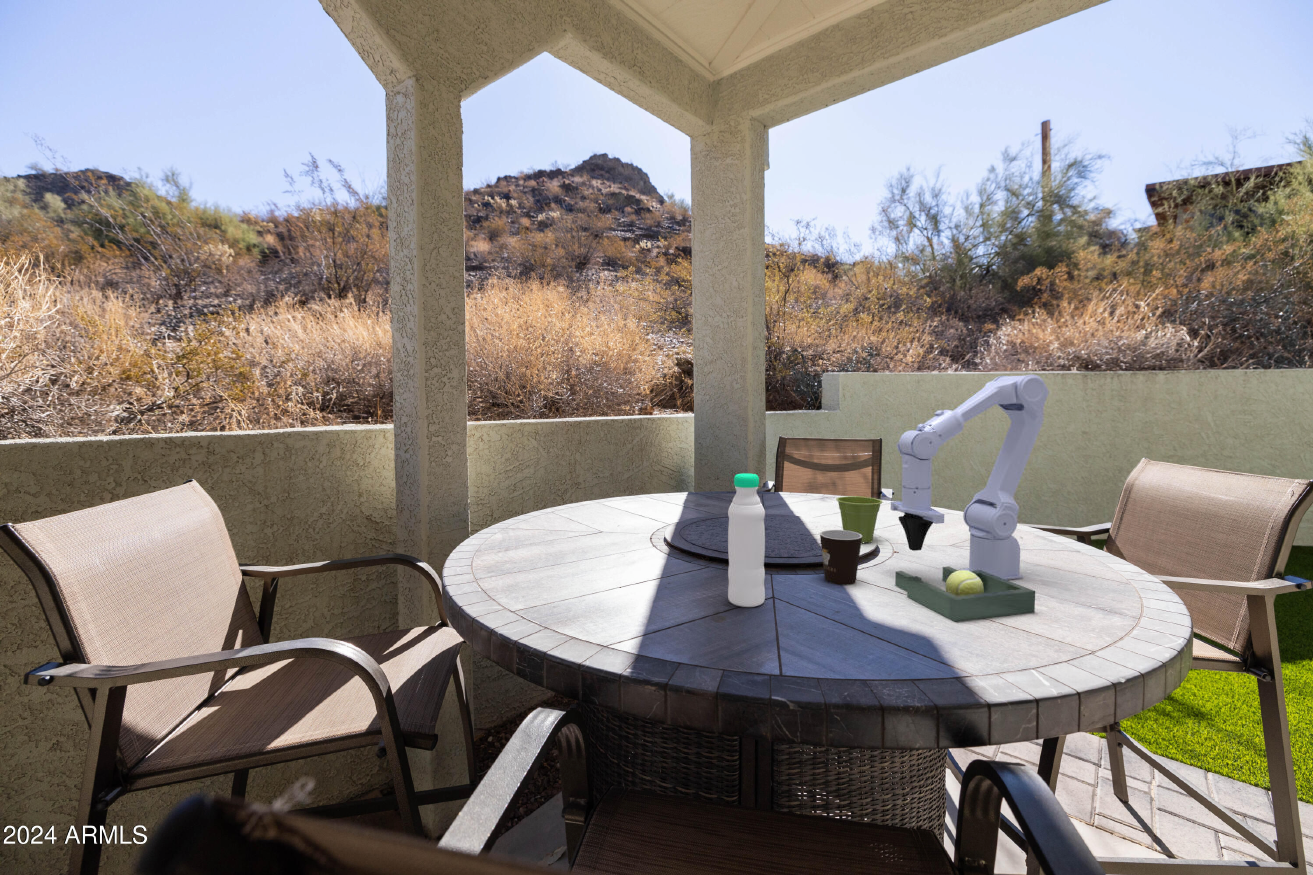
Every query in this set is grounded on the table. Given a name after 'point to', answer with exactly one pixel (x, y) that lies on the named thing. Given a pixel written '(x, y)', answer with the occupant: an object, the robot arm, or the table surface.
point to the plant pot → (859, 515)
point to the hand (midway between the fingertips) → (915, 549)
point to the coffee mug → (840, 555)
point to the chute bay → (970, 597)
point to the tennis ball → (964, 583)
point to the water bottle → (746, 544)
